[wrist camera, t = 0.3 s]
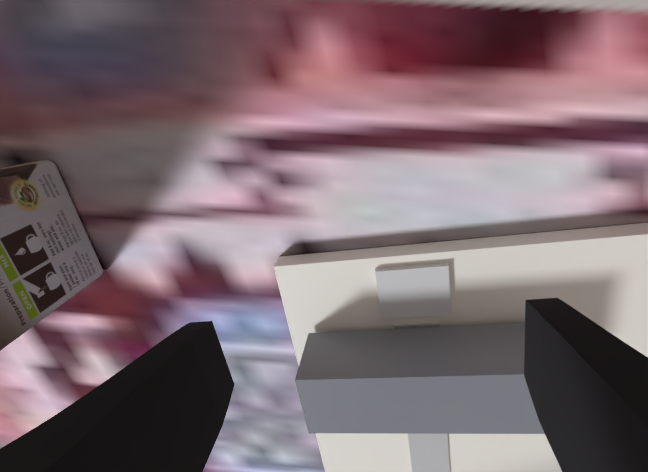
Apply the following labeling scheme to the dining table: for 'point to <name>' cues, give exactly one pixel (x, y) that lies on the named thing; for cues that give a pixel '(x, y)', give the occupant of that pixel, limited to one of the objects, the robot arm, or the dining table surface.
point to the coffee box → (39, 247)
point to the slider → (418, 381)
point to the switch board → (464, 320)
